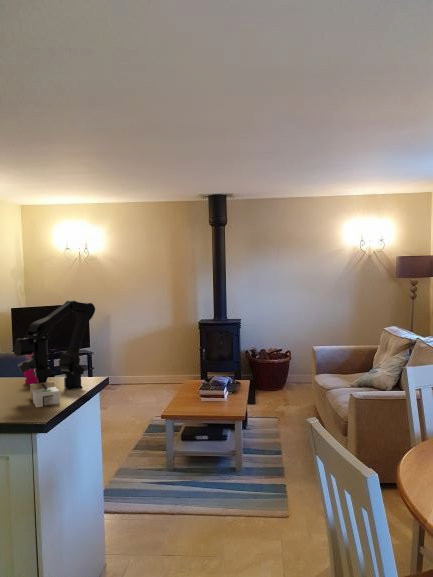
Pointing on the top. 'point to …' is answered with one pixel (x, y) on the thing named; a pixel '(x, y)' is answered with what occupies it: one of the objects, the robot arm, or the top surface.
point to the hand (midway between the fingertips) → (41, 389)
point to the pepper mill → (30, 374)
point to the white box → (46, 399)
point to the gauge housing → (42, 392)
